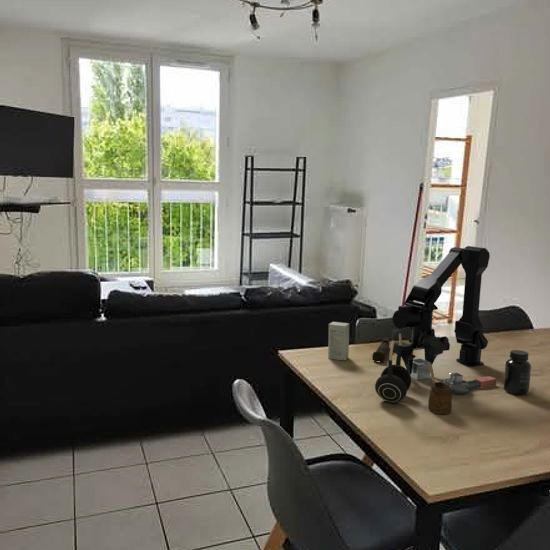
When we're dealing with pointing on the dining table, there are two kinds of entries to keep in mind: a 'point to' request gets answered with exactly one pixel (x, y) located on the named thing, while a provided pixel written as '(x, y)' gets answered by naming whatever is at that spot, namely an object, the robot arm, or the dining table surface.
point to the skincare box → (338, 341)
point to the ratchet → (468, 383)
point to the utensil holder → (440, 396)
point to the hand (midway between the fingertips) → (418, 372)
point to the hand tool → (381, 350)
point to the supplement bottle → (517, 373)
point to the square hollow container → (420, 369)
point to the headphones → (394, 376)
